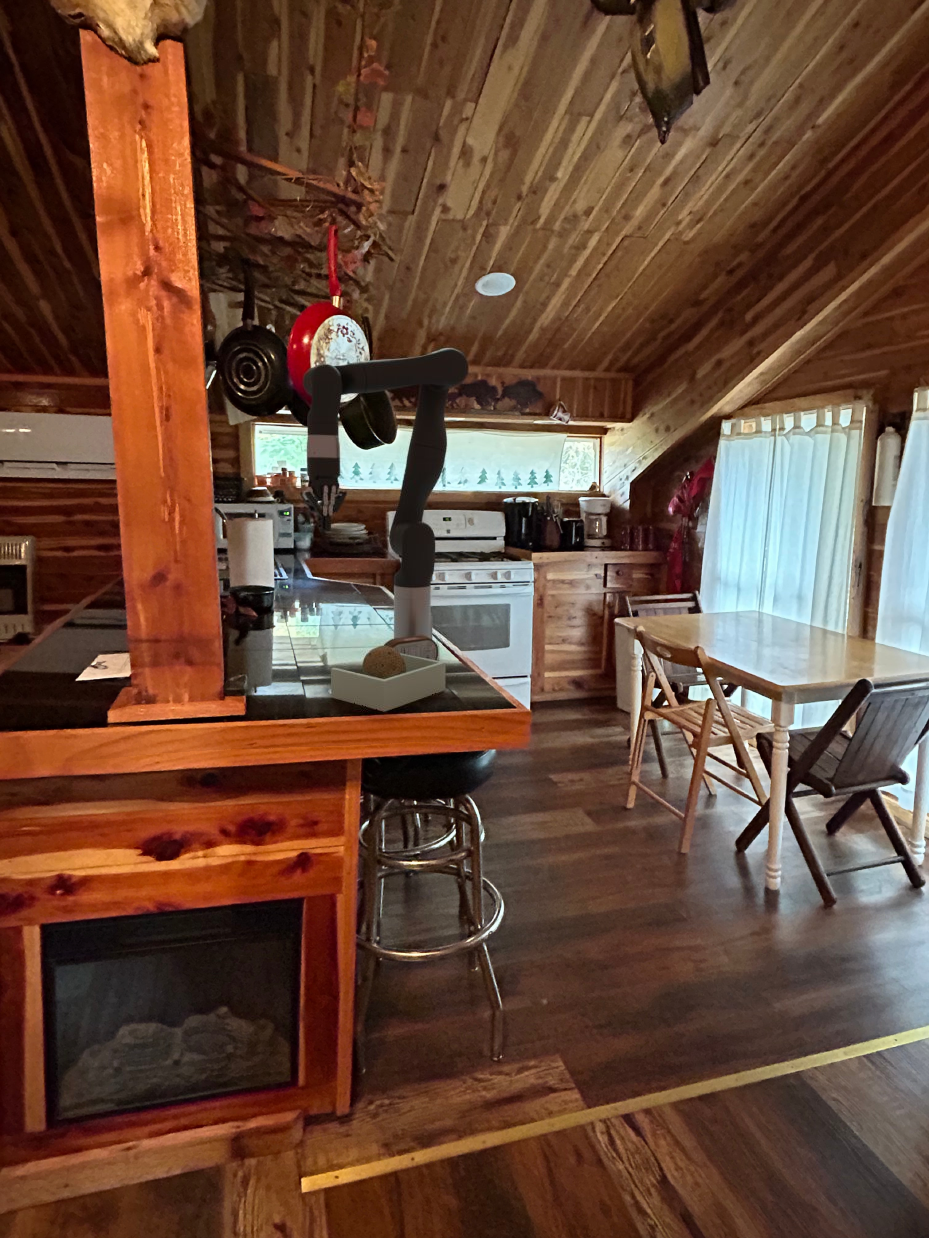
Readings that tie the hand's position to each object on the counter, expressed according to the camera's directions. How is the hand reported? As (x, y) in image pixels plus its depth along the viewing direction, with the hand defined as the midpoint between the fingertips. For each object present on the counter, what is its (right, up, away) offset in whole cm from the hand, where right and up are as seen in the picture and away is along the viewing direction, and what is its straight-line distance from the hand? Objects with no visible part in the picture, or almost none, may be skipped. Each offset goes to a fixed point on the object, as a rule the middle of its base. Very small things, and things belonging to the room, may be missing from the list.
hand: (324, 531), depth 177 cm
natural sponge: (+16, -36, -20) cm, 44 cm away
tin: (+20, -33, -4) cm, 39 cm away
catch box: (+17, -36, -20) cm, 45 cm away
